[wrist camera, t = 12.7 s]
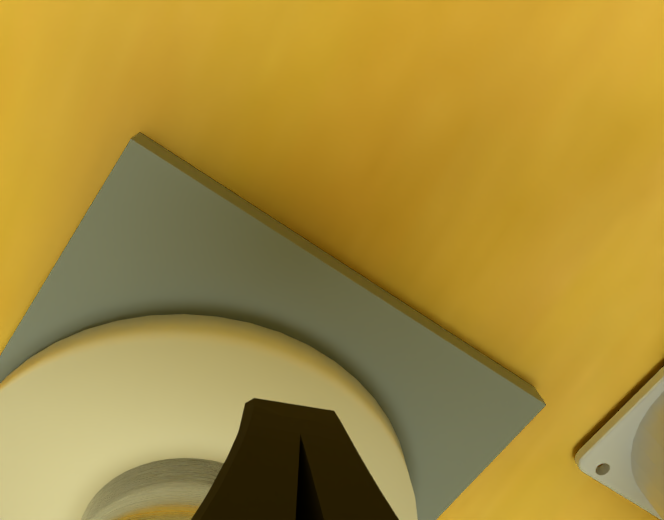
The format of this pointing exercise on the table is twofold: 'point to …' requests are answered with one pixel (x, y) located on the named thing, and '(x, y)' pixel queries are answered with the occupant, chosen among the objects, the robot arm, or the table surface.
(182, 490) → the cover
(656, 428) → the robot arm
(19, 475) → the turntable
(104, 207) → the base plate
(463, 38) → the table surface
